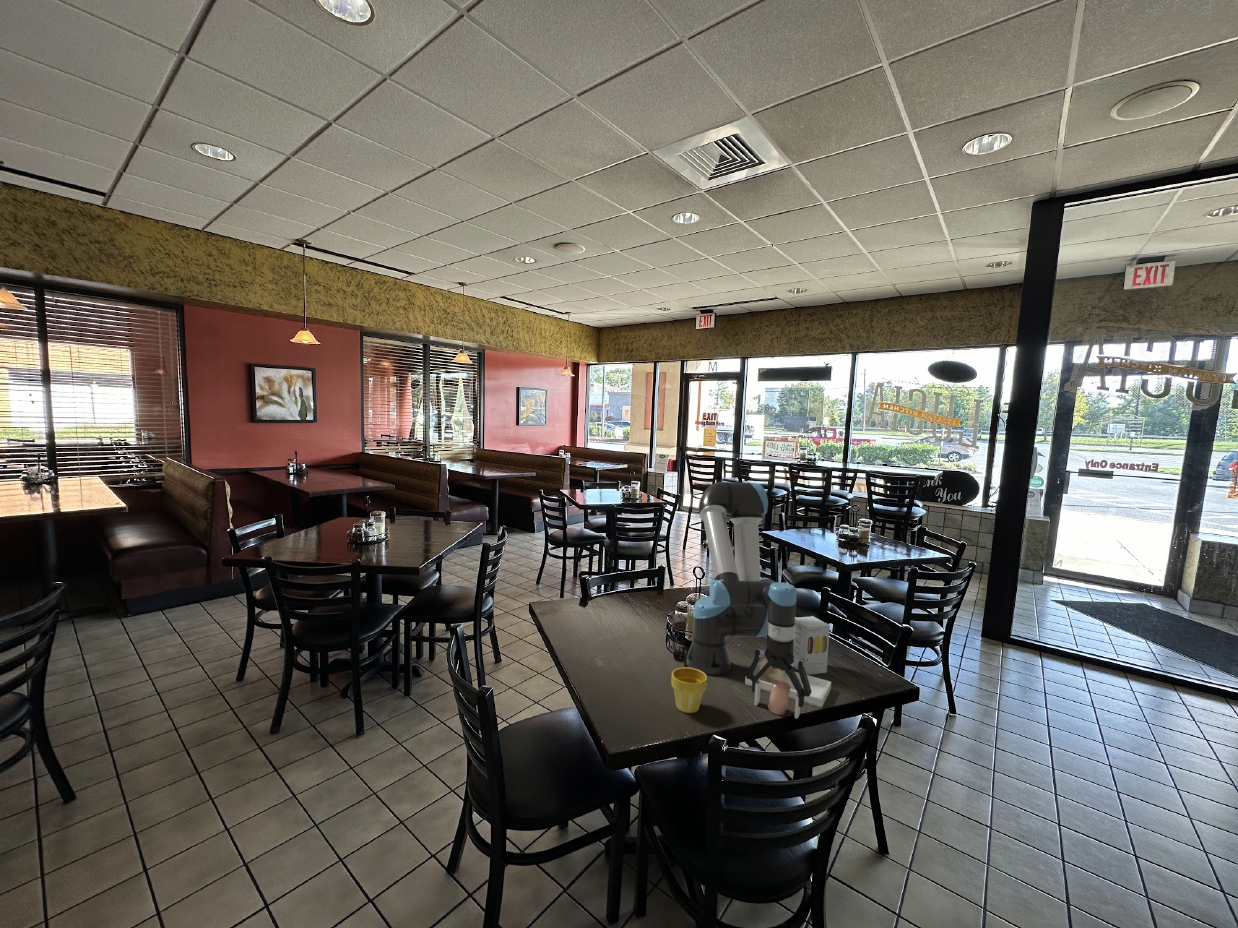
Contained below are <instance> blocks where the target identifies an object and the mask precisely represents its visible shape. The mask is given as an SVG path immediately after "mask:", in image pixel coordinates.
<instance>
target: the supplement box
mask: <svg viewBox="0 0 1238 928" xmlns="http://www.w3.org/2000/svg"><path fill="white" fill-rule="evenodd" d="M830 629H831V628H830V625H829V624H827V622H824V621H822V620H821V619H819V618H817V617H815V616H813V615H811V616H801V617H800V616H799V617H795V629H794V638H793V640H794V649H793V655H794V658H796V659H804V660H805V663H804V668H805V671H806V674H807V675H817V674H826V673H827V672H828V660H829V659H828V656H829V655H828V654H829V644H830V643H829V641H830ZM792 667H793V669H795V670H797V671H798V667H796V664H795V663H793V664H792Z"/></svg>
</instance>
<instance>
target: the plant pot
mask: <svg viewBox="0 0 1238 928" xmlns="http://www.w3.org/2000/svg"><path fill="white" fill-rule="evenodd" d="M670 677H671V682H670V683H671V686H672V688H673V692H674V698H675V705H676V709H678V710H679V711H681V712H682V713H686V714H694V713H697V712H698V711H699V710H700V706H701V702H702V699H703V694H704V692H705V691H706V690H707V685H708V676H707V674H705V673H704V672H702V671H700V670H698V669H695V668H690V667H689V666H688V667H684V666H683V667H677V668H676V669H674V670H673V671H672V672H671V676H670Z"/></svg>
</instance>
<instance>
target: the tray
mask: <svg viewBox="0 0 1238 928" xmlns="http://www.w3.org/2000/svg"><path fill="white" fill-rule="evenodd" d="M760 664H761V661H759V662H758V664H757V666H756V669H755V671H754V673H753V675H756V674H757V673H758V672H759V671H760ZM794 672H795V674H796V676H797V678H798V680H799V681H800V683H801V685H802V682H801V678H800V675H799V672H797V671H794ZM807 678H808V681H809V684H810V688H811V691H812V692H811V694H810V696H809V697H807V696H804V704H806V705H809V706H812V707H815V708H820V709H823V707H824V704H825V702H826V700H827V699H828V696H829V694H830V692H831V690H832V681H830V680H827V679H822V678H819V677H815V676H813V675H810V674H808V675H807ZM744 680H745V681H744V685H746V686H748V687H751V688H752V681H751V680H750V679H747V678H746V676H745V679H744ZM758 680H759V681H761V685H760V691H764V692H767V693H770V694H771V689H772V683H768V682H765V681H762V680H760V678H759V679H758ZM782 681H785V682H787V683H788V684H789V685H790V687H791V688H790V693H789V698H788V699H791V700H792V701H793V700H794V701H796V695H797V691H796V689H795V687H794V686H793V684H792V682H791V680H790V678H789V676H788V675H787V674H786V672H785V670H784V676H783V680H782ZM802 687H803V685H802Z"/></svg>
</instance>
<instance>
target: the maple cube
mask: <svg viewBox="0 0 1238 928" xmlns="http://www.w3.org/2000/svg"><path fill="white" fill-rule="evenodd" d="M760 662H761V664H760V670H761V669H762V668H763V667H764V665H765V664H766V663H767V662H768V660H767V658H766V657H765V656H764V658H763V659H762V660H760ZM783 676H784V670H783V671H782V670H780V669H775V668H773V667H772V666H770V667H769V668H768V669H767V670H766V671H765V672H764V674H763V675H762V676H761V677H760V680H762V681H765V682H768V683H772V684H773V681H774V680H783Z"/></svg>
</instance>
